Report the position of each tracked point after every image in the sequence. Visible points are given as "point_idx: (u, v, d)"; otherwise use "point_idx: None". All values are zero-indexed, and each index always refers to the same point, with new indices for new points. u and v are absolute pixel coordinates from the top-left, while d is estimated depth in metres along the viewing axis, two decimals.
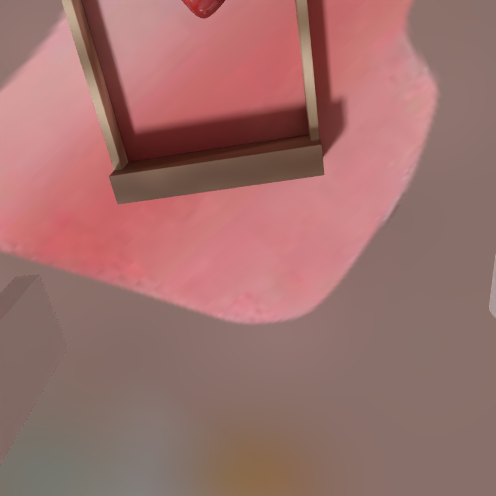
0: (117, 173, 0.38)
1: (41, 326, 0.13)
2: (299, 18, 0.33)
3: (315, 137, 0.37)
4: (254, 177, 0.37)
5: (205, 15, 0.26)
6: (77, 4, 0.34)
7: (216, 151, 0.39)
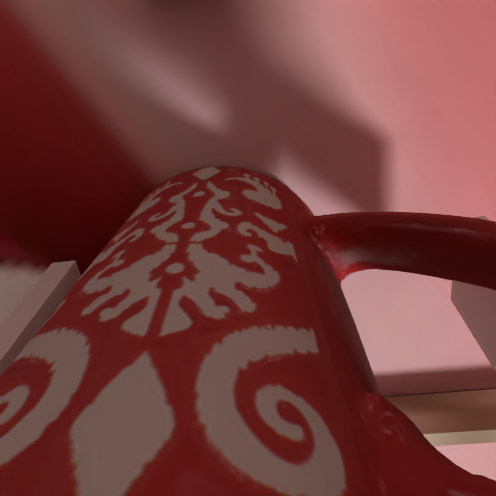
0: None
1: None
2: None
3: None
4: None
5: None
6: None
7: None
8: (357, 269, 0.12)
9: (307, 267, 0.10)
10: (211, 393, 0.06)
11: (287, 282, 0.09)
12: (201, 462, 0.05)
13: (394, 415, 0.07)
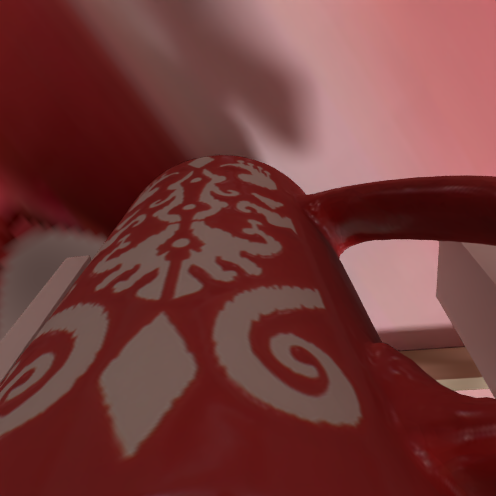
0: None
1: None
2: None
3: None
4: None
5: None
6: None
7: None
8: (354, 242, 0.13)
9: (306, 238, 0.11)
10: (228, 341, 0.06)
11: (289, 250, 0.09)
12: (225, 396, 0.05)
13: (401, 360, 0.07)
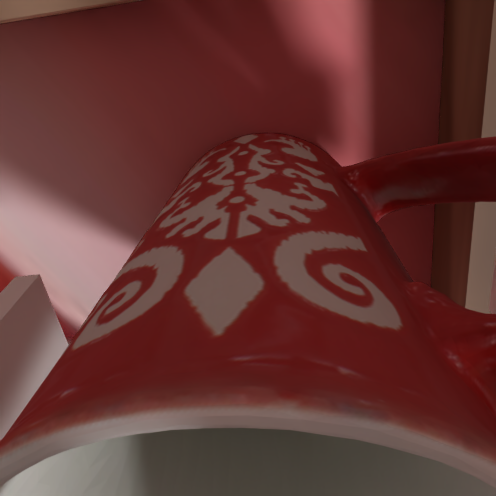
0: None
1: (41, 326, 0.13)
2: None
3: None
4: None
5: None
6: None
7: (443, 205, 0.17)
8: (391, 209, 0.14)
9: (347, 201, 0.12)
10: (287, 266, 0.07)
11: (332, 207, 0.10)
12: (289, 300, 0.06)
13: (435, 293, 0.08)
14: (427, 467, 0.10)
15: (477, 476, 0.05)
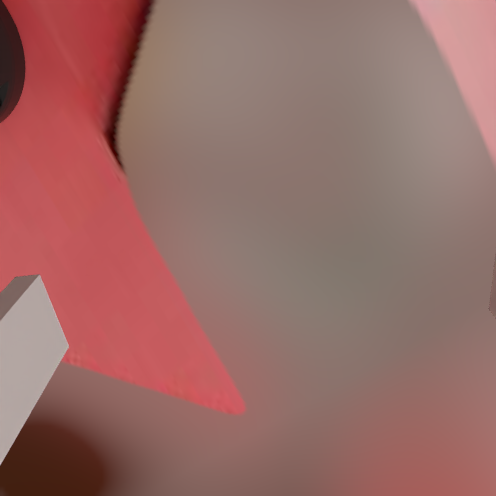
0: None
1: (41, 326, 0.13)
2: None
3: None
4: None
5: None
6: None
7: None
8: None
9: None
10: None
11: None
12: None
13: None
14: None
15: None
